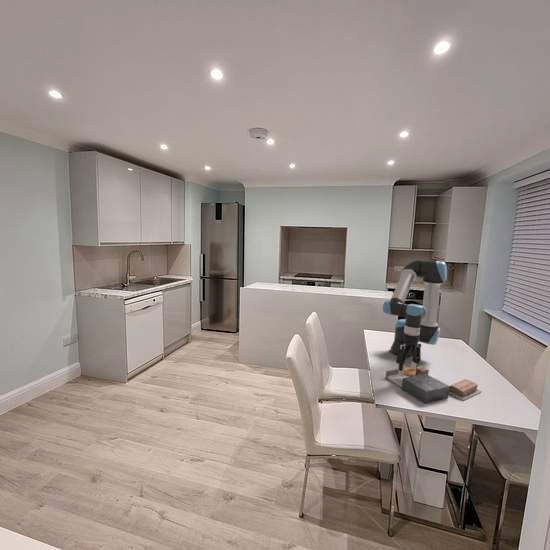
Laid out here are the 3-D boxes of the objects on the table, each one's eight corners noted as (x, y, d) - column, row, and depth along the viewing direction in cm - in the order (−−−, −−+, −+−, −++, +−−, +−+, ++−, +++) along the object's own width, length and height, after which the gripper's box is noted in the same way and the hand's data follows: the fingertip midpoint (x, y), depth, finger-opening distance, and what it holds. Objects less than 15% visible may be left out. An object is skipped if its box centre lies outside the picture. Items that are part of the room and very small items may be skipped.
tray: (384, 378, 164) (385, 370, 163) (404, 374, 170) (405, 367, 169) (405, 390, 151) (406, 382, 150) (426, 386, 157) (427, 378, 156)
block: (413, 375, 169) (414, 367, 168) (420, 374, 171) (421, 366, 170) (421, 379, 164) (422, 371, 164) (427, 378, 166) (428, 369, 166)
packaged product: (462, 376, 161) (482, 384, 153) (460, 384, 162) (481, 393, 153) (443, 383, 152) (464, 392, 143) (442, 392, 152) (463, 402, 144)
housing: (401, 388, 153) (402, 377, 152) (423, 384, 159) (424, 373, 158) (424, 403, 140) (426, 391, 139) (448, 397, 146) (449, 386, 146)
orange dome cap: (395, 371, 161) (396, 368, 161) (406, 369, 164) (406, 366, 164) (407, 377, 154) (408, 374, 153) (418, 375, 157) (419, 372, 157)
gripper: (402, 337, 149) (397, 380, 151) (431, 334, 157) (426, 375, 160) (391, 333, 156) (387, 374, 158) (419, 330, 164) (415, 369, 167)
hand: (406, 374), depth 159 cm, fingers closed on orange dome cap, 8 cm apart
